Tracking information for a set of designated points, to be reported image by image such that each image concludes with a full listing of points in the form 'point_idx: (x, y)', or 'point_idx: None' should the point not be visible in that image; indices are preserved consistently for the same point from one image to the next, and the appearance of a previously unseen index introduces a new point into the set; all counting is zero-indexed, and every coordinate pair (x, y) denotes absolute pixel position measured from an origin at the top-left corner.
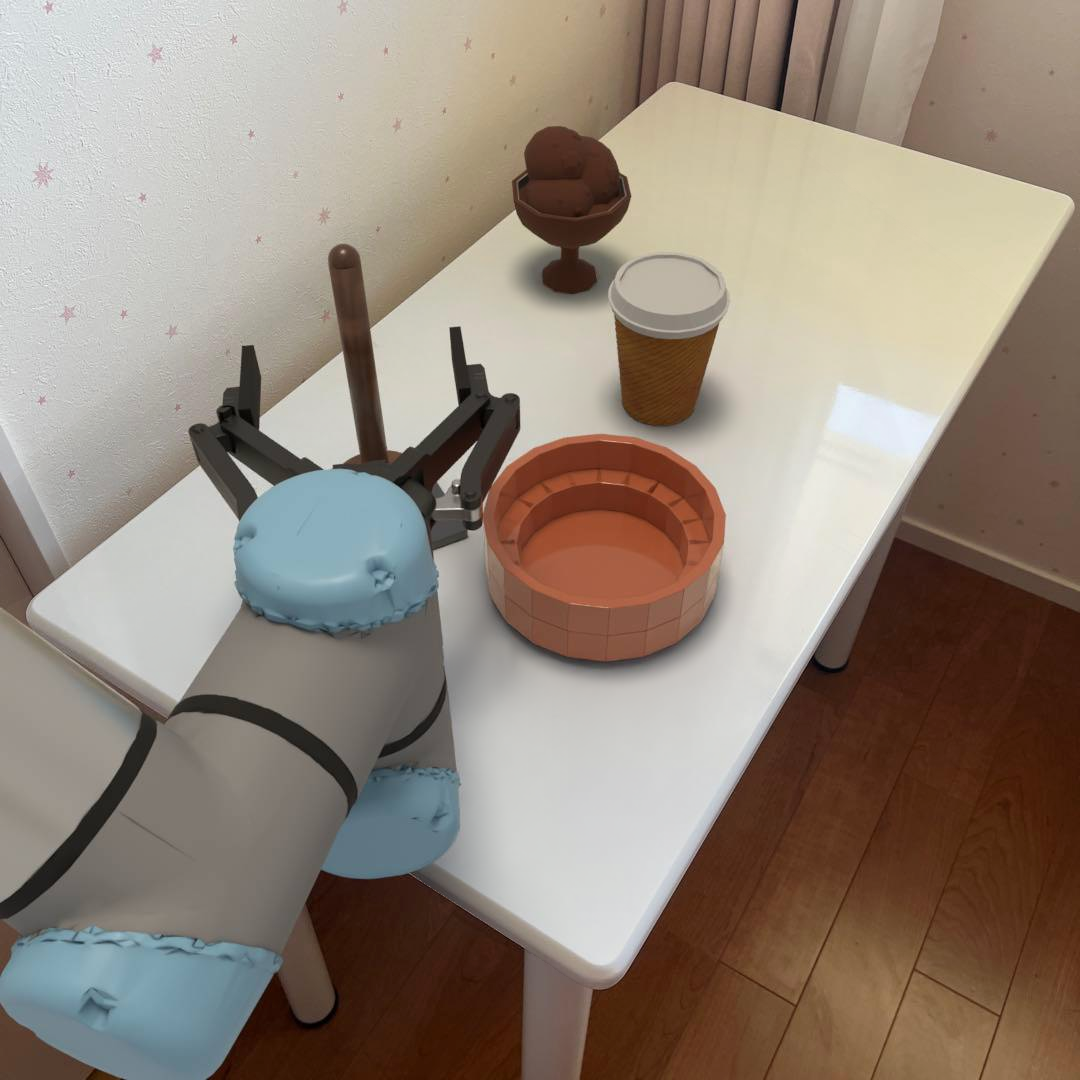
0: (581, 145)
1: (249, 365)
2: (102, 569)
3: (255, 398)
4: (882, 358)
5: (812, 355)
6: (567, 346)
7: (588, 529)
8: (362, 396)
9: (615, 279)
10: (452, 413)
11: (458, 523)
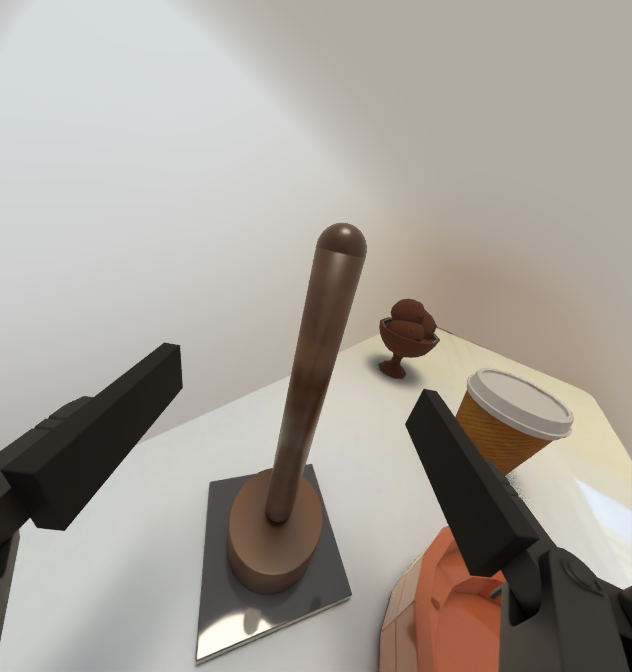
0: (424, 309)
1: (146, 369)
2: None
3: (122, 427)
4: (584, 463)
5: (541, 449)
6: (399, 406)
7: (479, 634)
8: (294, 443)
9: (480, 379)
10: (570, 665)
11: (342, 579)
